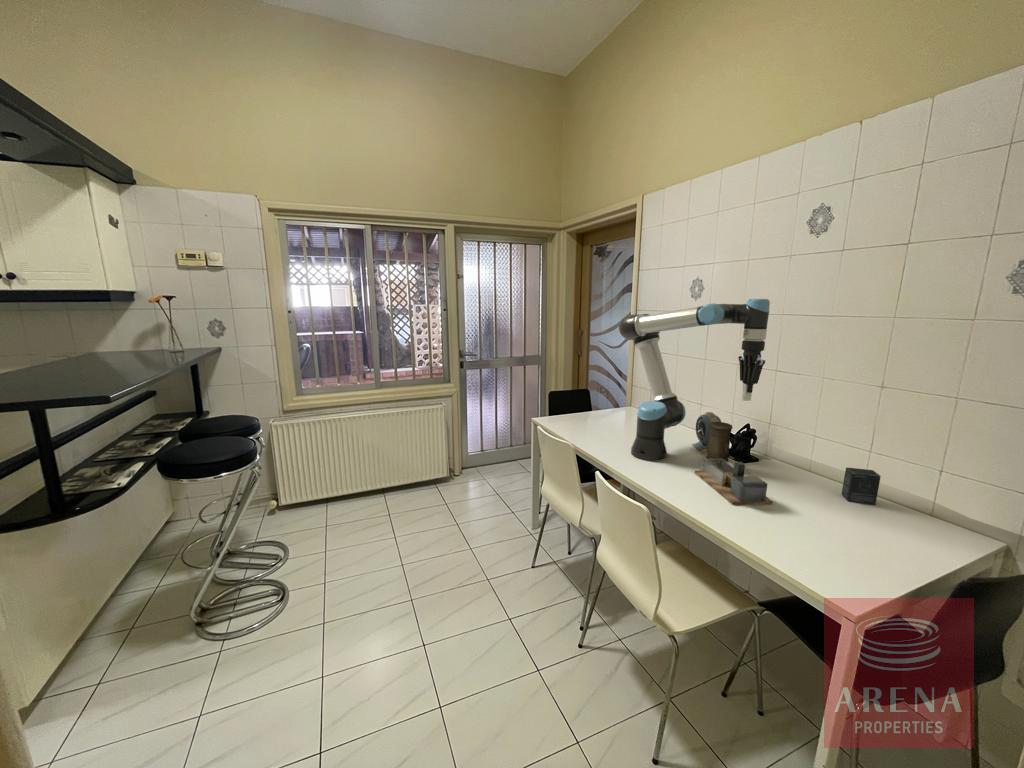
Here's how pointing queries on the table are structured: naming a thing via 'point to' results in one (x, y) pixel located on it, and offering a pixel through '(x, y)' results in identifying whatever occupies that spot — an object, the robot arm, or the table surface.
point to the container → (719, 440)
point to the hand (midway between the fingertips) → (746, 400)
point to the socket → (748, 488)
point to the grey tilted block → (717, 469)
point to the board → (726, 490)
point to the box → (860, 485)
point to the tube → (735, 472)
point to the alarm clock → (704, 431)
